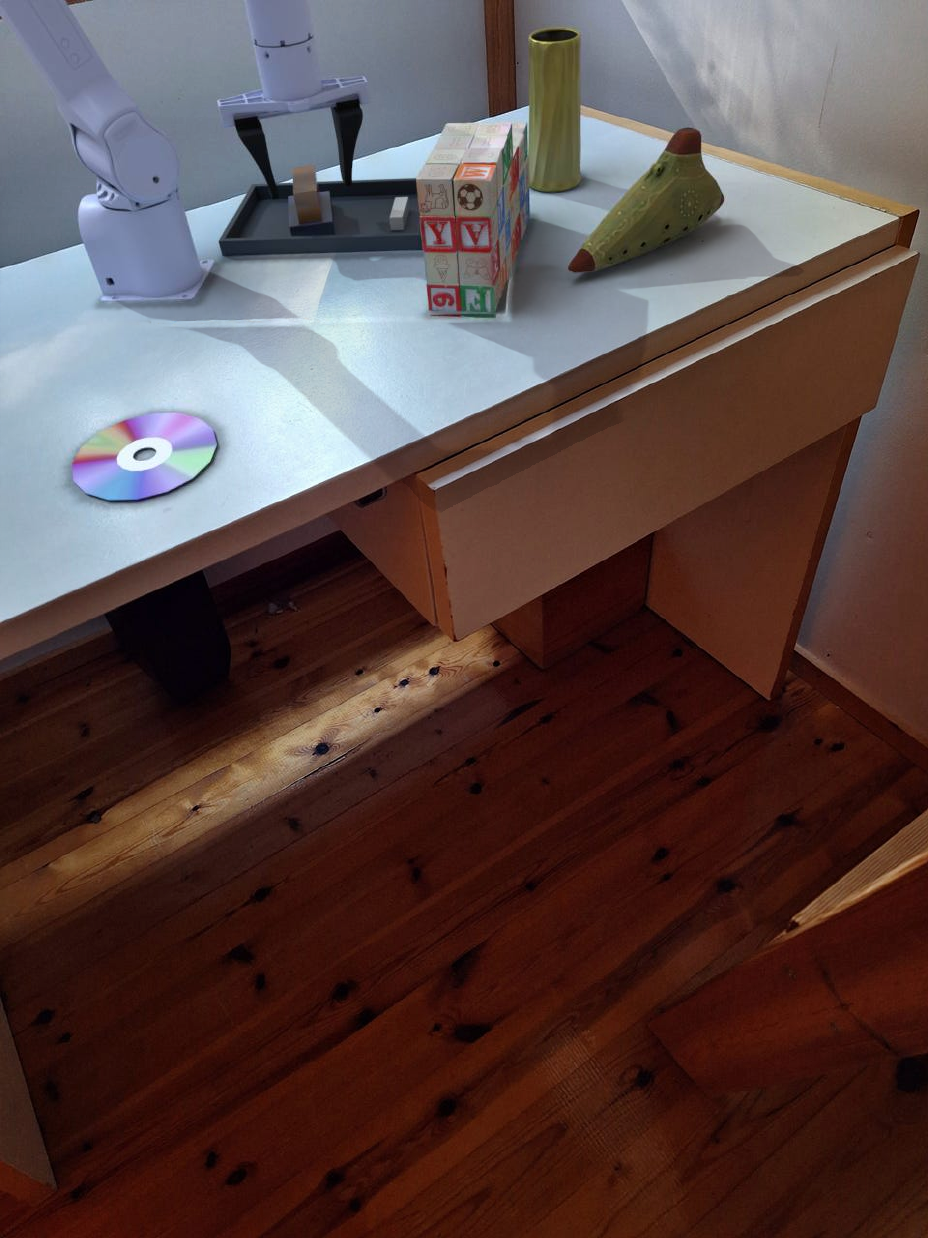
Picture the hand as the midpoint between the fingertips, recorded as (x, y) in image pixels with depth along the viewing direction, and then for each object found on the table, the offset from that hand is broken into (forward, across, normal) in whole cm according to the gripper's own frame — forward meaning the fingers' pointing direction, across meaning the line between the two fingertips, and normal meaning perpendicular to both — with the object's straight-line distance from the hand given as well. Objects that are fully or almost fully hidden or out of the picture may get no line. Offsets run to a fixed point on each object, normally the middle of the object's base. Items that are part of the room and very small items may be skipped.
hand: (311, 188), depth 94 cm
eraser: (+3, 0, 0) cm, 4 cm away
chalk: (+3, +8, -3) cm, 10 cm away
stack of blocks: (+4, +14, -15) cm, 21 cm away
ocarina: (+4, +29, -19) cm, 35 cm away
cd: (+4, -20, -35) cm, 41 cm away
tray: (+4, +2, -1) cm, 5 cm away
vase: (+4, +27, 0) cm, 27 cm away
